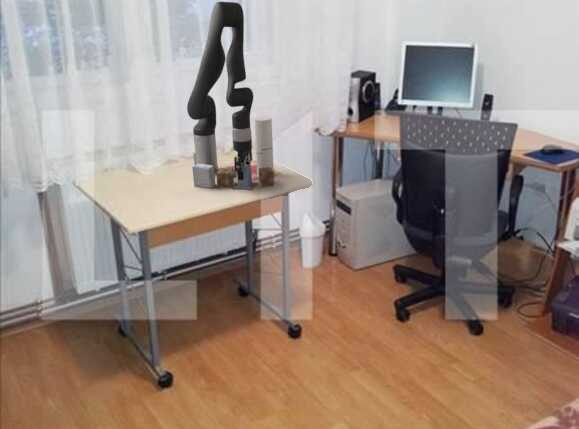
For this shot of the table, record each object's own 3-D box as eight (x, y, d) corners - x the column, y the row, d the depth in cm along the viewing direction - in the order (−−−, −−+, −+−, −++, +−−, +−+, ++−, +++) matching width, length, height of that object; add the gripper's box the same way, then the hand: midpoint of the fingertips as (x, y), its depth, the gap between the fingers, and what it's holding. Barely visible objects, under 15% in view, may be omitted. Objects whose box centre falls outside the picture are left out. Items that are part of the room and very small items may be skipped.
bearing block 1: (217, 186, 264) (216, 172, 262) (222, 181, 269) (221, 168, 267) (233, 187, 262) (232, 174, 260) (238, 182, 267) (237, 169, 265)
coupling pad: (232, 188, 261) (232, 187, 261) (239, 182, 268) (239, 180, 268) (250, 190, 259) (250, 188, 259) (257, 183, 266) (257, 182, 266)
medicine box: (215, 185, 266) (214, 165, 262) (210, 188, 262) (208, 168, 259) (199, 183, 269) (197, 163, 265) (193, 186, 265) (192, 166, 262)
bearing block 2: (261, 187, 262) (260, 173, 260) (258, 182, 268) (257, 168, 265) (274, 185, 263) (273, 171, 261) (271, 180, 269) (270, 167, 266)
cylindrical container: (273, 178, 272) (271, 120, 262) (256, 178, 272) (253, 120, 262) (274, 172, 278) (271, 115, 268) (257, 172, 278) (254, 116, 269)
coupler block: (248, 187, 261) (247, 167, 258) (237, 186, 262) (236, 166, 259) (252, 183, 265) (250, 164, 262) (241, 182, 266) (240, 163, 263)
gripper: (245, 143, 248) (247, 183, 255) (256, 133, 261) (258, 171, 267) (226, 142, 250) (229, 181, 257) (239, 132, 263) (241, 170, 269)
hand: (244, 176), depth 262 cm, fingers open, 8 cm apart
